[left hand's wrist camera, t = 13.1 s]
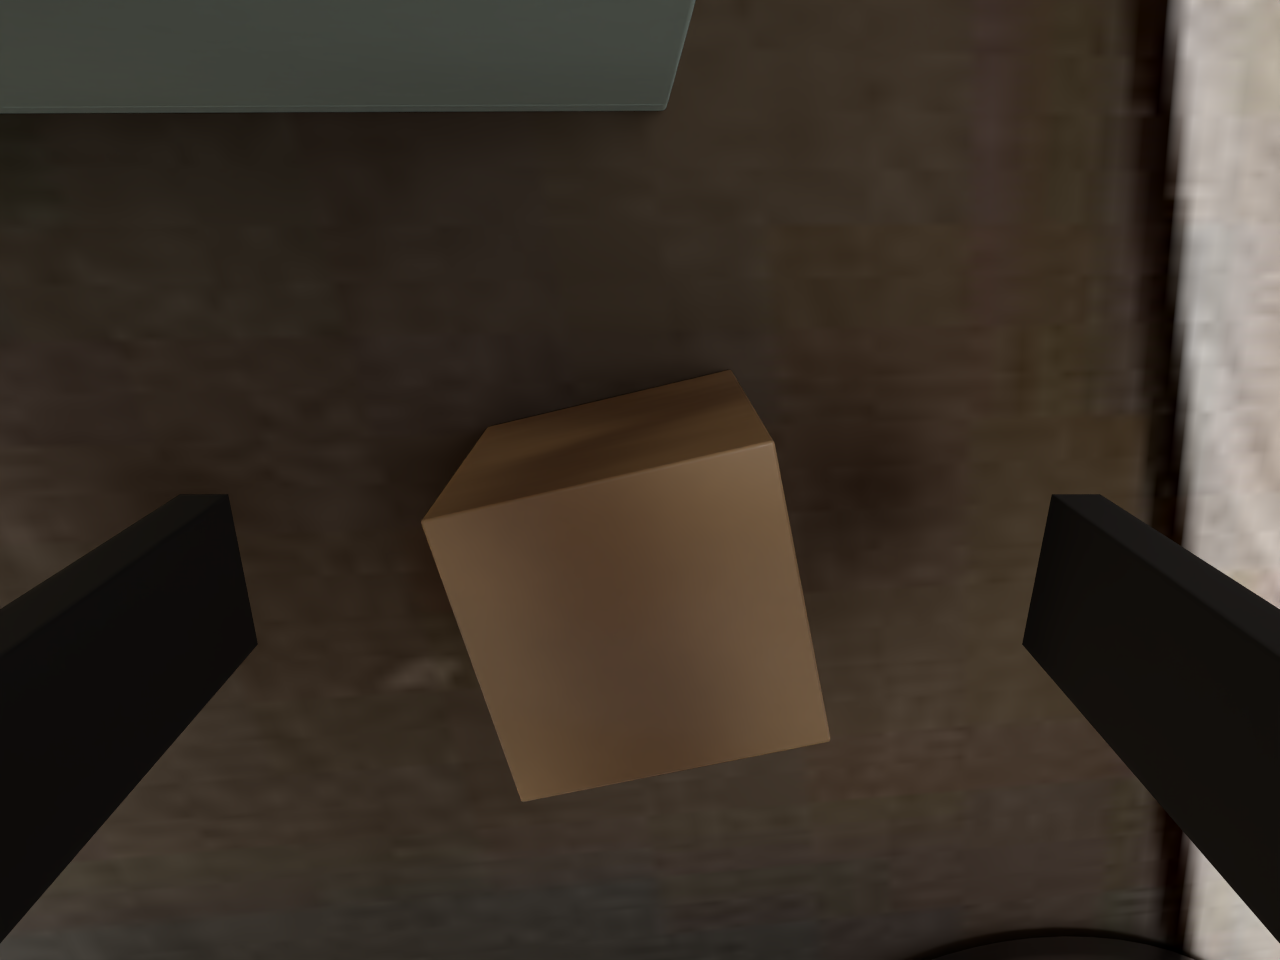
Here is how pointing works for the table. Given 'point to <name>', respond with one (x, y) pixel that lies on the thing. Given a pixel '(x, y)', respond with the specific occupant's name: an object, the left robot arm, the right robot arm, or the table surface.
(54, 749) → the left robot arm
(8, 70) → the chest
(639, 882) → the table surface
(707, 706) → the block
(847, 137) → the table surface
